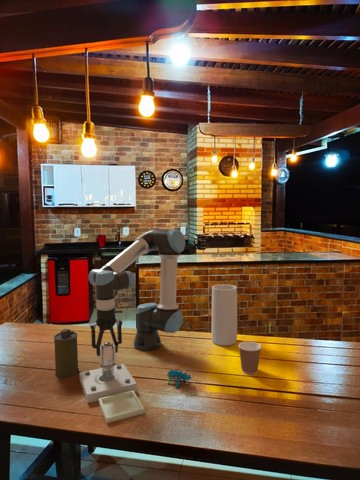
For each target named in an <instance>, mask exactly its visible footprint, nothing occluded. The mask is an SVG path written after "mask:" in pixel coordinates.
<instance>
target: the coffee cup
mask: <svg viewBox="0 0 360 480" xmlns="http://www.w3.org/2000/svg"><path fill="white" fill-rule="evenodd" d="M238 349H239V358H240V368H241V371H242V373H244V374H247V375H255V374H257V372H258V369H259V363H260V355H261V349H262V345H261V344H259V343H257V342H254V341H243V342H240V343H239V344H238Z"/></svg>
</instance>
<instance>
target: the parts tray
mask: <svg viewBox="0 0 360 480" xmlns="http://www.w3.org/2000/svg"><path fill="white" fill-rule="evenodd" d="M98 404H99V408H100V410H101V413H102V416H103V418H104V421H105V423H106V425H107V424H112V423H115V422H119V421H123V420H125V419H129V418H133V417H138V416H141V415H144V414H145V406H144V405H143V403H142V402H141V401H140V399H139V397H138V396H137V394H136V392H134V391H129V392H124V393H120V394H116V395H112V396H107V397H103V398H99V401H98Z"/></svg>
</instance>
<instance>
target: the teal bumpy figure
mask: <svg viewBox="0 0 360 480" xmlns="http://www.w3.org/2000/svg"><path fill="white" fill-rule="evenodd" d="M166 377H167V379H168V380H167V385H170V382H171V380H173V381H174V380H175V381H176V385H175V387H176V388H179V386H180V385H179V384H180V381H181V380H182V381H190V380H192V376H191V374H188V372H184V373H183V371H182V370H177V369H174V370H173V369H170V370H169V371H168V372H167V373H166Z"/></svg>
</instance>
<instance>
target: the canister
mask: <svg viewBox="0 0 360 480" xmlns="http://www.w3.org/2000/svg"><path fill="white" fill-rule="evenodd" d="M53 340H54V364H55V372H54V374H55V375H56V376H57V377H61V378H66V376H67V377H71V376H73V375H76V374H77V373H78V372H79V370H80V369H79V356H78V355H79V354H78V353H79V351H78V333H77V332H75V331H74V330H71V329H69V328H64V329H62V330H61V331H60V332H59V333H58V332H57V333H56V334H55V335H54V336H53Z"/></svg>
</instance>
